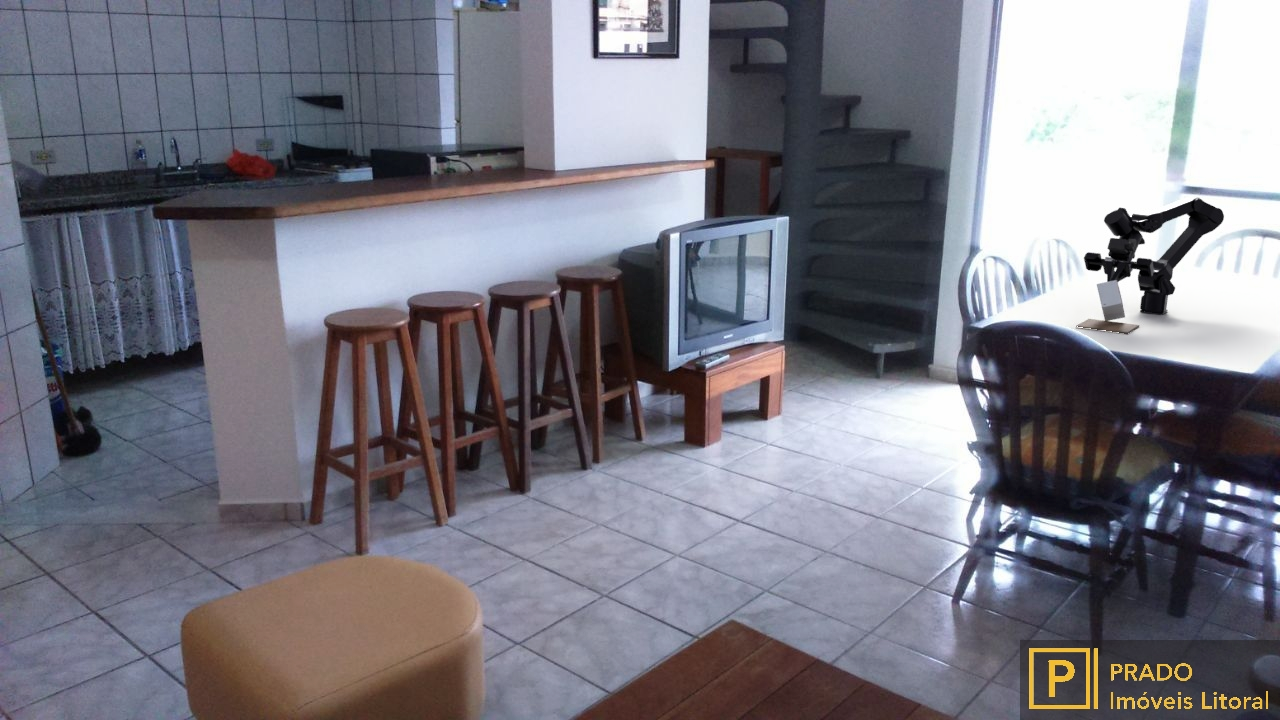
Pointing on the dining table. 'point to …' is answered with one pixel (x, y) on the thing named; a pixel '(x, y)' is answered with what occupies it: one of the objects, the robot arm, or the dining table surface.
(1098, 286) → the small box
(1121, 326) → the walnut board
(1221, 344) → the dining table surface
